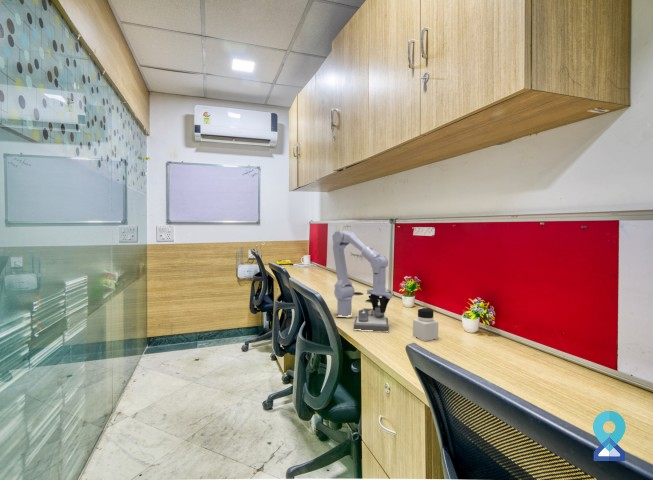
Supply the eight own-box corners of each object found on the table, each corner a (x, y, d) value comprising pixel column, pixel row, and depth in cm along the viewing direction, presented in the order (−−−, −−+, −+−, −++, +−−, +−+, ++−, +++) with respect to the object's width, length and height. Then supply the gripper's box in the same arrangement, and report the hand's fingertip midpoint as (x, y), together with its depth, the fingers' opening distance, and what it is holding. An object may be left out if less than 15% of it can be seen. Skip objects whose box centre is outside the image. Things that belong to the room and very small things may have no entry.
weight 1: (360, 319, 144) (360, 308, 144) (369, 320, 142) (369, 309, 142) (357, 321, 140) (357, 310, 140) (366, 322, 138) (366, 311, 138)
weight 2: (375, 314, 149) (375, 304, 149) (384, 315, 148) (384, 304, 148) (374, 317, 145) (374, 306, 145) (384, 317, 144) (384, 307, 143)
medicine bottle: (438, 339, 126) (438, 309, 126) (424, 341, 123) (425, 311, 123) (425, 334, 133) (426, 305, 132) (412, 336, 130) (412, 307, 129)
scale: (356, 320, 154) (356, 308, 154) (387, 321, 151) (387, 309, 151) (353, 330, 137) (353, 317, 137) (388, 332, 135) (388, 318, 135)
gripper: (362, 281, 149) (362, 309, 150) (384, 285, 138) (384, 316, 138) (373, 279, 153) (372, 307, 154) (395, 283, 142) (395, 313, 142)
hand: (379, 311), depth 146 cm, fingers closed on weight 2, 4 cm apart
